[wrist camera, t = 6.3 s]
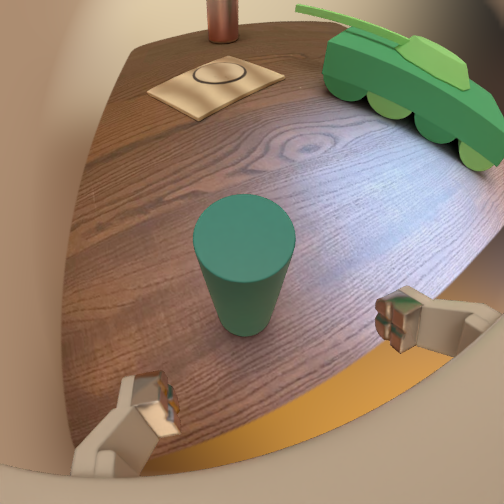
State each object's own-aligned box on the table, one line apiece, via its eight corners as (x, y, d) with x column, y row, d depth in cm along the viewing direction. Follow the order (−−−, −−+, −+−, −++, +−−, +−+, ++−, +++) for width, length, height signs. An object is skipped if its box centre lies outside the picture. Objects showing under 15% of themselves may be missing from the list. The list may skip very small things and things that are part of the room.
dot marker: (245, 349, 18) (245, 305, 9) (209, 314, 19) (172, 235, 10) (280, 313, 20) (316, 233, 10) (244, 281, 21) (243, 179, 11)
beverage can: (206, 38, 44) (203, -22, 31) (233, 34, 45) (233, -24, 32) (212, 45, 42) (208, -21, 28) (241, 42, 43) (242, -23, 29)
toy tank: (315, -4, 31) (498, 79, 24) (307, 49, 42) (472, 126, 35) (272, 4, 24) (527, 123, 17) (267, 78, 35) (484, 182, 28)
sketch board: (198, 121, 29) (197, 116, 29) (147, 94, 33) (146, 90, 32) (284, 79, 35) (285, 74, 34) (228, 58, 38) (228, 54, 38)
